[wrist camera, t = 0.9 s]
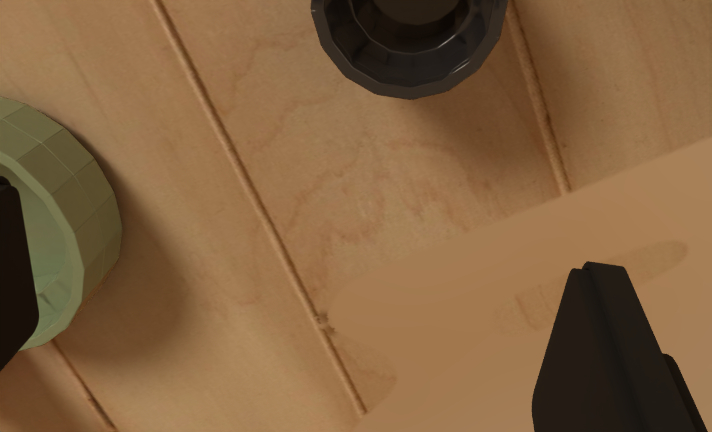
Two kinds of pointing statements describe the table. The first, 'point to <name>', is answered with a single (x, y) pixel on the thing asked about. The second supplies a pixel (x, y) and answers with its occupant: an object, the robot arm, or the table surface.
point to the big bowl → (59, 214)
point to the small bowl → (408, 41)
